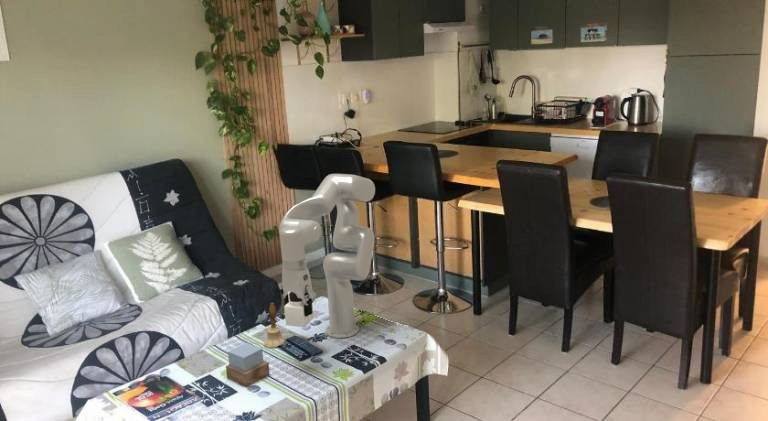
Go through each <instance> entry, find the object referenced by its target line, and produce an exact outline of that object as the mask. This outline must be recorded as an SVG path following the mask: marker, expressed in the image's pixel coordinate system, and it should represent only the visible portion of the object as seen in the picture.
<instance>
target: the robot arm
mask: <svg viewBox="0 0 768 421" xmlns="http://www.w3.org/2000/svg"><path fill="white" fill-rule="evenodd" d="M375 194H376V186H375V183H374V182H373V181H372V180H371V179H370V178H367V177H363V176H360V175H357V174H349V173H348V174H347V173H331V174H328V175H327V176H325V177H324V178H323V180H322V181H321V183H320V184H319V186H318V187H317V188H316V190H315V192H314V193H313V195H312V196H311V197H309V198H307V199H305V200H302V201H301V202H299V203H297V204H295V205H294V206H293V207H291V208H289V210H287V212H286V213H285V215H284V217H283V218H282V219H281V220H280V221H281V222H280V224H279V226H278V233H279V234H278V235H279V238H280V249H281V250H280V251H281V258H282V259H281V260H282V270H281V282H279V283H278V284H277V285H278V288H279V291H280V294H282V298H283V301H284V306H285V305H286V304H287V303H288V302H289V298H288V292H293V293H295V294H296V295H297V298H300V299H302V300H303V302H304V304H305V305H304V314H305V316H306V317H307V316H309V315H311V314H312V313H313V314H314V310H313V311H312V305H313V304H314V301H315V300H316V297H317V293H316V292H315V291H314V290H313V286H312V285H313V284H312V279H311V274H310V271H309V267H307V266H308V264H307V260H306V259H307V258H306V251H305V246H307V245H310V244H313V243H315V242H317V241H318V240H319V239H320V237H321V235H322V226H321V224H320V223H319V222H318V221H315V220H311V219H315V218H316V219H317V218H321V217H324V216H326V215H329V214H331V212H332V211H333V209H334V208H335V206H336V210H337V213H336V220H335V225H334V229H333V235H332V245H333V247H334V248H335V249H338V250H341V251H350V252H356V253H348V252H347V253H345V252H330V253H328V254H327V255H326V256H325V257H324V258H323V262H322V265H323V266H322V267H323V271H324V272H323V273H324V276H325V279H326V280H325V282H326V289H327V290H326V291H327V301H328V302H327V303H328V321H329V325H328V326H327V327H326V328H325V333H326V335H327V336H328V337H331V338H334V339H335V338H336V339H346V338H350V337H351V338H352V337H353V336H355V335H356V334H358V332H359V330H360V329H359V326H358V324H357V323H358V322H359V321H361V320H362V319H363V316H362V315H361V314H358V315H357V316H355V313H354V312H355V309H354V289H353V285H352V283H351V280H352V281H364V280H366V279H367V277H368V276H369V272H370V268H371V263H372V258H373V254H374V253H373V252H374V247H375V234H374V231H373V229H371V227H368V226H362V225H361V226H359V223H360V211H359V209H358V207H357V205H356V204H355V202H370V201H372V200H373V199H374V196H375ZM305 294H306V295H305ZM304 295H305V296H304ZM306 297H307V299H308V301H307V300H306Z"/></svg>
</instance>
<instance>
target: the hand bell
mask: <svg viewBox="0 0 768 421" xmlns="http://www.w3.org/2000/svg"><path fill="white" fill-rule="evenodd" d="M269 304H270V305H269V308H268V315H269V317H270V328H269V329H267V336H266V339H265V340H264V342H263V346H264V347H265V348H269V349H276V348H275V347H277V346H279V345H280V344H282V343H283V342H284V341H285V340H286V339H285V338H284V337H283V336H282V333H281V330H280V328H279V327H277V325H276V324H277V323H276V316H277V308H276V306H275V302H270V303H269ZM277 348H278V347H277Z"/></svg>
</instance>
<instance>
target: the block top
mask: <svg viewBox="0 0 768 421" xmlns="http://www.w3.org/2000/svg"><path fill="white" fill-rule="evenodd" d="M227 356H228V365H230V366H232V367H235V368H237V369H240V370H242V371H244V372H246V371H247V370H249V369H251V368H253V367H255V366H257V365H259V364H261V363H263V360H264V354H263V348H262V347H259V346H257V345H254V344H252V343H250V342H245V343H243V344H241V345H239V346H237V347H235V348H232V349H229V350H228V351H227Z"/></svg>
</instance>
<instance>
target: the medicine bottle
mask: <svg viewBox="0 0 768 421" xmlns="http://www.w3.org/2000/svg"><path fill="white" fill-rule="evenodd" d="M305 295H306V294H305ZM305 295H304V296H305ZM288 298H289V302H288V303H287V304H286V305H285V304H284V306H283V309H284V317H285V318H284V320H285V326H290V327H297V328H298V327H299V328H306V327H307V325H309V323H310V322H312V321H313V320H314V306H313V305H314V304H312V311H313V313H312V314H311V315H309V316H307V317H306V316H305V314H304V305H305V304H304V302H303V300H302V299H300V298H297V295H296V294H295V293H293V292H288ZM306 300H307V301H308V298H307V297H306Z"/></svg>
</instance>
